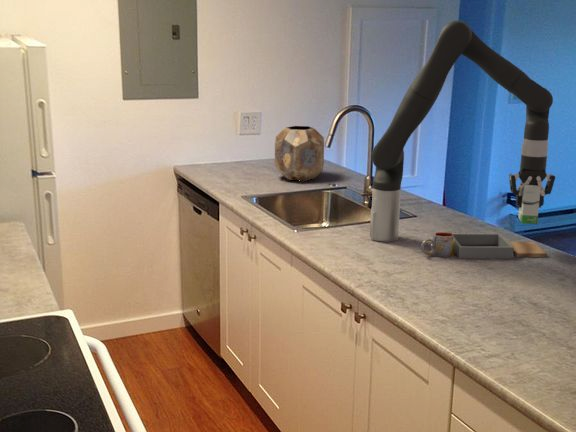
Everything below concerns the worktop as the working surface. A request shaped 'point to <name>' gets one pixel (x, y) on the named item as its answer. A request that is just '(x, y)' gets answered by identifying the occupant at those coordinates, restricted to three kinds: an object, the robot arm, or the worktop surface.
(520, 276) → the worktop surface
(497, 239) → the parts bin
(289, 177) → the planter
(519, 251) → the tan flat slab
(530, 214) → the ink box
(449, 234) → the mug
